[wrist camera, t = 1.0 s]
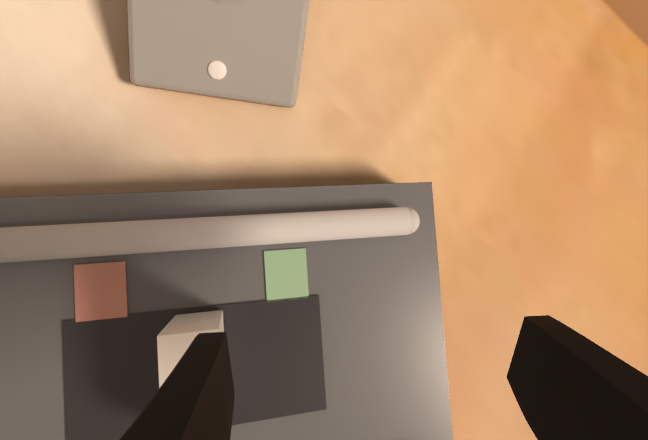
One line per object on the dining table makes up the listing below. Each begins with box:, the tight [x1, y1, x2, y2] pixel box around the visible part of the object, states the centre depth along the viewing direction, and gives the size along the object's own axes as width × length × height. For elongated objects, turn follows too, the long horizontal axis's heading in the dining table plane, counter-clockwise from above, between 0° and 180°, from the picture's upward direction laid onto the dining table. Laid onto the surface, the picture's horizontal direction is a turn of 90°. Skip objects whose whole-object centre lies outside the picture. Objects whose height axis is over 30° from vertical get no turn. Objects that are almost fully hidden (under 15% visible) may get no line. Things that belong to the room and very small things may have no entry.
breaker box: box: [0, 182, 453, 440], centre depth 19 cm, size 16×24×3 cm, turn 94°
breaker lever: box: [157, 310, 224, 388], centre depth 15 cm, size 5×2×4 cm, turn 4°
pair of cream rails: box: [0, 207, 420, 263], centre depth 16 cm, size 13×21×1 cm, turn 94°
